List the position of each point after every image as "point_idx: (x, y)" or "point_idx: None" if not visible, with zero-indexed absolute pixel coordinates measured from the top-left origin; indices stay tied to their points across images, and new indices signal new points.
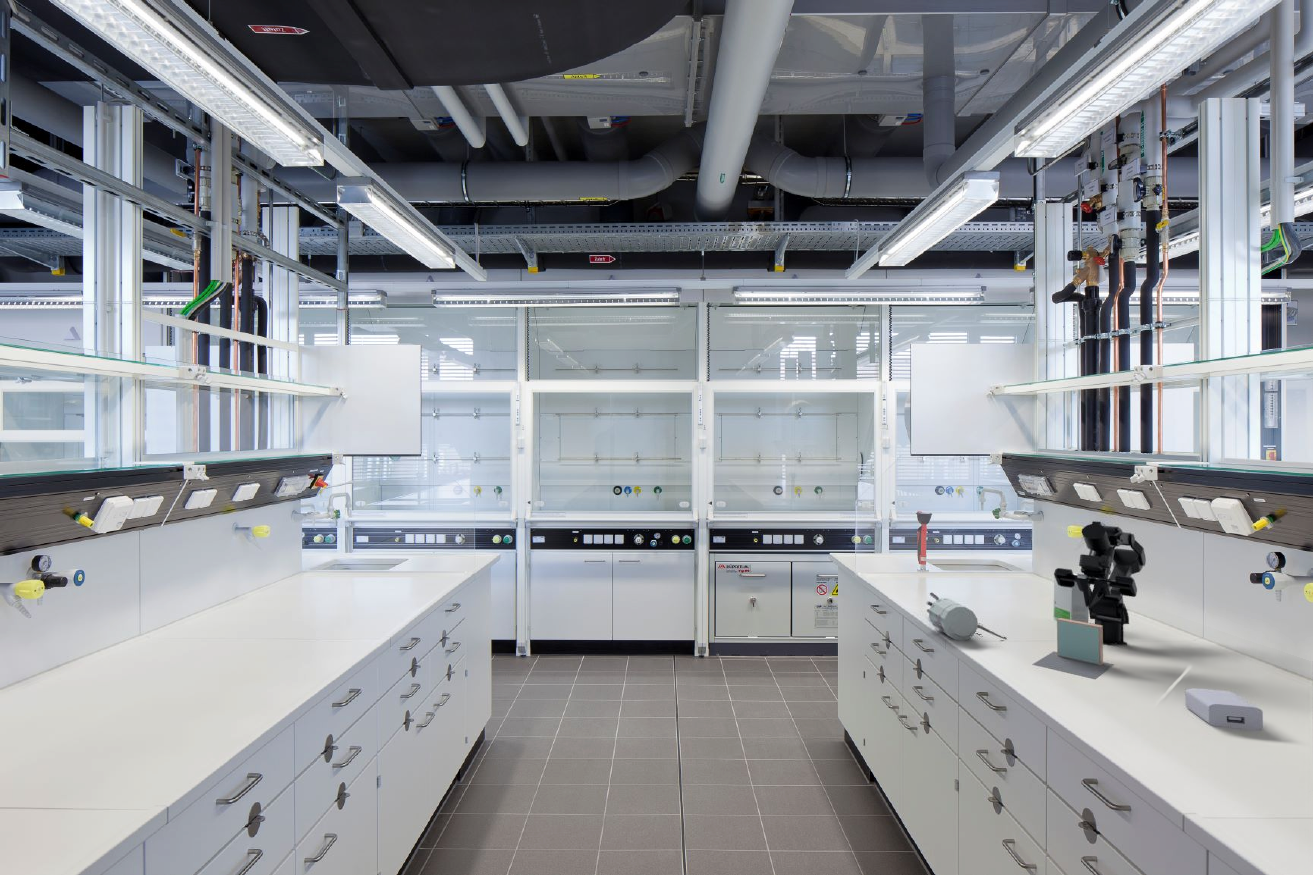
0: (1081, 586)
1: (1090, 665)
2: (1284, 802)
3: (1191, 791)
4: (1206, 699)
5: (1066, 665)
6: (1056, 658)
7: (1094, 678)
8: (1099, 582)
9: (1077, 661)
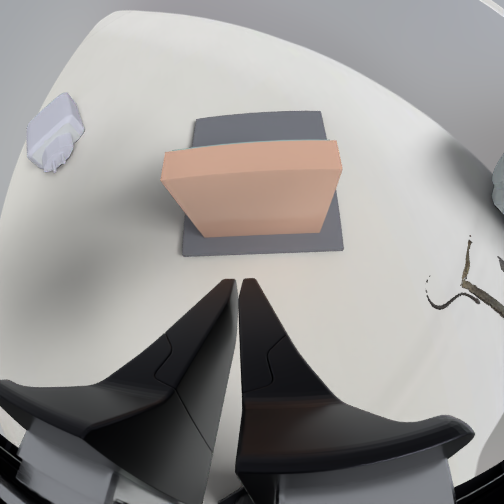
0: (335, 397)
1: None
2: (81, 48)
3: (124, 21)
4: (62, 99)
5: None
6: None
7: (198, 121)
8: (44, 399)
9: None
